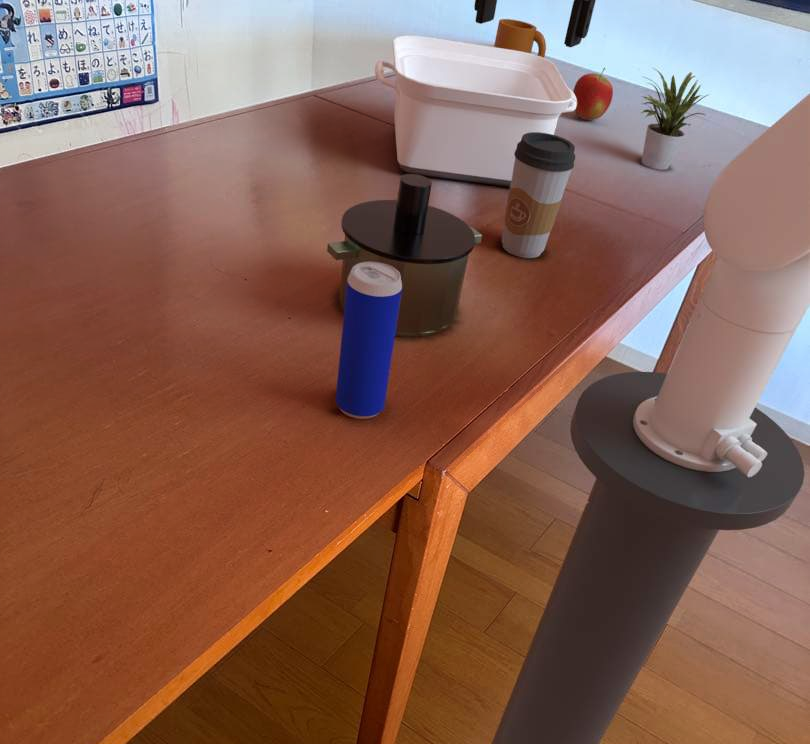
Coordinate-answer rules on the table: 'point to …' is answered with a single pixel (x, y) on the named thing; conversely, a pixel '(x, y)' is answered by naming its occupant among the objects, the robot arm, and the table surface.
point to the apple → (592, 96)
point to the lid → (408, 227)
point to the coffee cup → (536, 192)
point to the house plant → (667, 123)
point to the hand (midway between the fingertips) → (527, 33)
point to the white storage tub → (469, 106)
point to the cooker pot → (413, 288)
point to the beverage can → (367, 338)
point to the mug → (519, 36)
